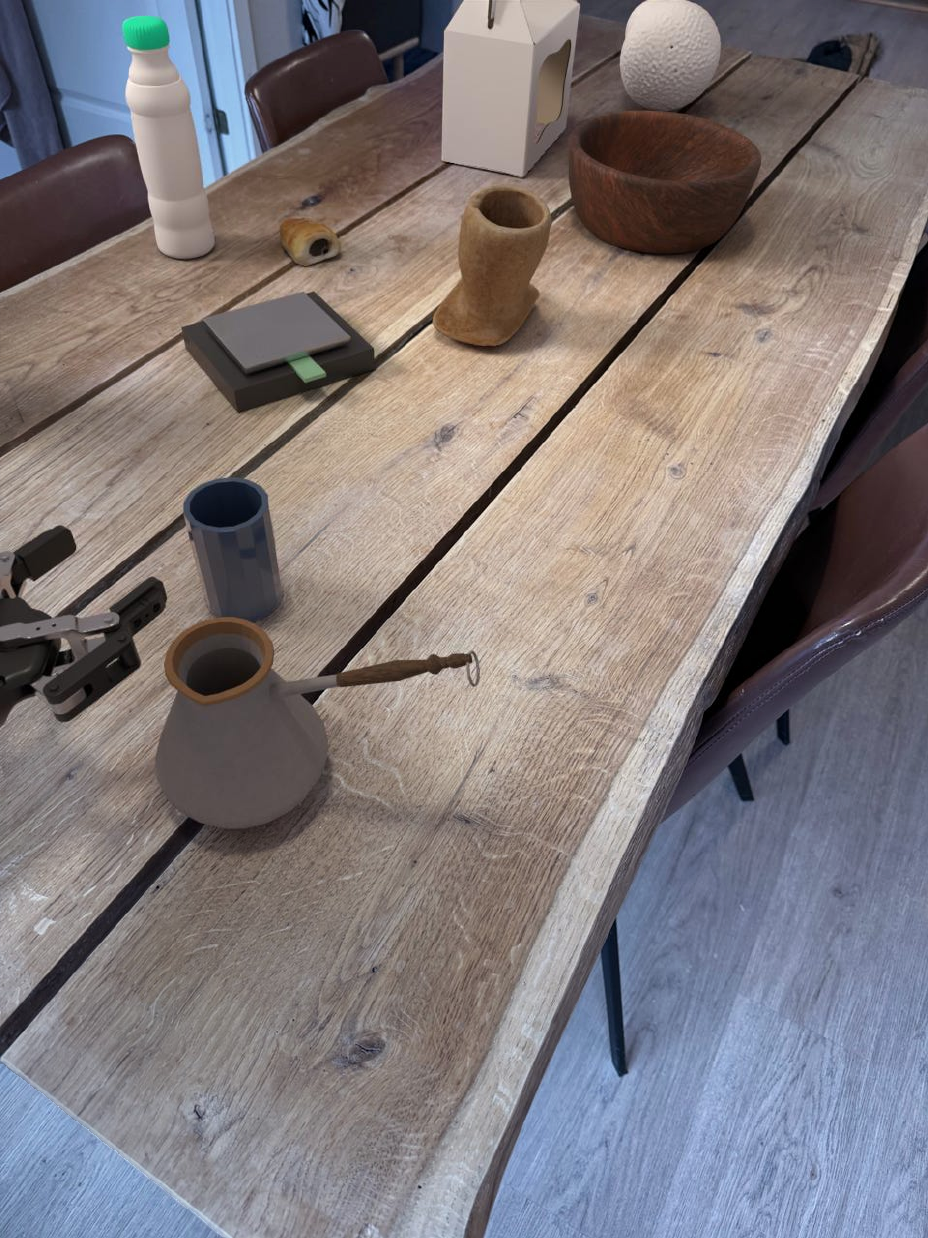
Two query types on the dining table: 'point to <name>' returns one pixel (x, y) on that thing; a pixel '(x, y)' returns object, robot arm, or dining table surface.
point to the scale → (282, 377)
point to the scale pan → (275, 332)
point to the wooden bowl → (659, 179)
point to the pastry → (308, 241)
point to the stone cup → (495, 265)
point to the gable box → (506, 81)
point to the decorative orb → (669, 53)
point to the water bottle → (166, 142)
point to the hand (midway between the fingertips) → (114, 561)
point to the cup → (234, 548)
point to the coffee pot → (251, 723)
